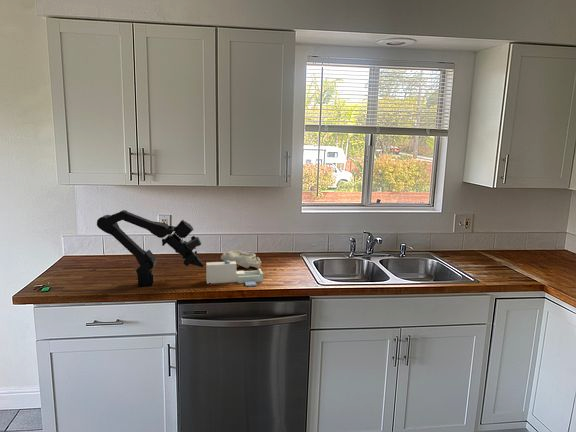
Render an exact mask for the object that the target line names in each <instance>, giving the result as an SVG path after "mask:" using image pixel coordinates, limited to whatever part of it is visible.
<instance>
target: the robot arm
mask: <svg viewBox="0 0 576 432" xmlns="http://www.w3.org/2000/svg"><path fill="white" fill-rule="evenodd" d="M121 221H124V222H127V223H130V224H132V225H134V226H137V227H140V228H141V229H145V230H146V231H149V233H151V234H152V235H154V236H155V237H157V238H159V239H161V242H162V243H161V246H163V247H164V246H165V245H166V244H167V245H168V246H169V247H170V248H172V249H173V250H174V252H175V253H176V254H178V255H180V256H181V258H182V259H183V265H184V266H186V267H188V266H189V265H192V266H196V267H200V268H203V267H204V266H205V265H204V263H203V262H202V261H201V259H200V258H199V256H198V250H196V249H197V247H200V246H201V245H202V242H201V240H200V237H198V236H195V235H193V236H191V237H190V240H189V241H186V240H183V239H185V238H187V237H188V236H189V235H190V234H191V233H192V232H193V231H194V230H195V229H194V227H193V226H192V225H191V224H190V223H188V222H187V221H186V220H184V219H181V221H179V223H178V224H177V225H176V226H174V225H169V224H167V223H165V222H160V221H152V220H149V219H147V218H145V217H142V216H141V215H140V216H139V215H137V214H135V213H132V212H129V211H128V210H126V209H125V210H124V209H123V210H120V211H119V212H116V213H113V214H105V215H103V216H101V217H99V218H98V219H97V220H96V226H97V228H99V229H100V230H101V231H102V232H104V233H106V234H108V235H111V236H112V237H113V238H114V239H115V240H116V241H118V242H119V243H120V244H121V245H122V246H123V247H124V248H125V249H126V250H127V251H128V252H129V253H131V255H132V256H133V257H135V259H136V261H137V263H138V265H139V266H138V267H137V268H136V269H135V272H136V274H137V287H138V288H139V287H153V285H154V283H155V274H154V273H153V268H154V267H155V265H156V264H157V261H158V260H157V257H156V254H154V253H153V252H152V251H151V249H147V251H146V250H144V249H142V247H141V246H140V245H138V244H137V243H136V242H135V241H134V240H133V239H132V238H131V237H130V236H129V235H128V234H126V232H124V231H123V230H122V228H120V226H119V223H118V222H121ZM193 250H195V251H194V252H193Z"/></svg>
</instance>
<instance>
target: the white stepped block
mask: <svg viewBox="0 0 576 432" xmlns="http://www.w3.org/2000/svg"><path fill="white" fill-rule="evenodd" d="M205 264H206V265H205V266H206V267H205V270H206V274H205V275H206V276H205V277H206V284H207V285H208V284H209V283H211V284H223V283H224V284H225V283H238V276H245V272H244V271H245V270H237V267H238V266H237V265H238V264H236V261H228V260H227V261H211V262H206V263H205Z"/></svg>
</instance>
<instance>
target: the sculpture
mask: <svg viewBox="0 0 576 432" xmlns="http://www.w3.org/2000/svg"><path fill="white" fill-rule="evenodd" d="M220 260H221V261H222V262H225V261H227V260H228V261H236V264H237V265H238V266H241V267H243V268H245V269H249V268H250V267H253V268H255V269H256V268H257V269H258V268H259V267H260V266H261V265H262V261H261V259H260V257H259V256H256V253H253V252H245V251H244V252H243V251H241V250H238V249H232V250H230V251H225V252H223V253H222V254H221V256H220Z"/></svg>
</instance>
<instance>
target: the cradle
mask: <svg viewBox="0 0 576 432" xmlns="http://www.w3.org/2000/svg"><path fill="white" fill-rule="evenodd" d="M243 271H244V272H245V276H238V282H237V284H243V283H244V285H245V287H247V286H248V287H257V285H258V284H257V283H263V282H264V272H263V271H262V269H261V268H259V267H258V268H257V270H243ZM248 287H247V288H248Z"/></svg>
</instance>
